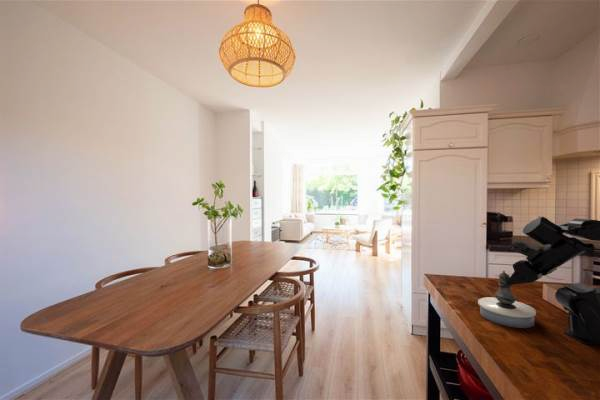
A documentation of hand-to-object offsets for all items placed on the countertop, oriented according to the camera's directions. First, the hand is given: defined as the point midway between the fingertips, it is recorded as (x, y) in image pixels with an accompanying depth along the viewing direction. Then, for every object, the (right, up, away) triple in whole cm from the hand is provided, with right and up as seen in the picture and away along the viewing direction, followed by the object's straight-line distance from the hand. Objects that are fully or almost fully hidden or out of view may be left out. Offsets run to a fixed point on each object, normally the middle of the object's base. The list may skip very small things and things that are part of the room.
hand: (512, 281), depth 80 cm
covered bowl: (-1, -13, +1) cm, 13 cm away
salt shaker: (-1, -9, +1) cm, 9 cm away
